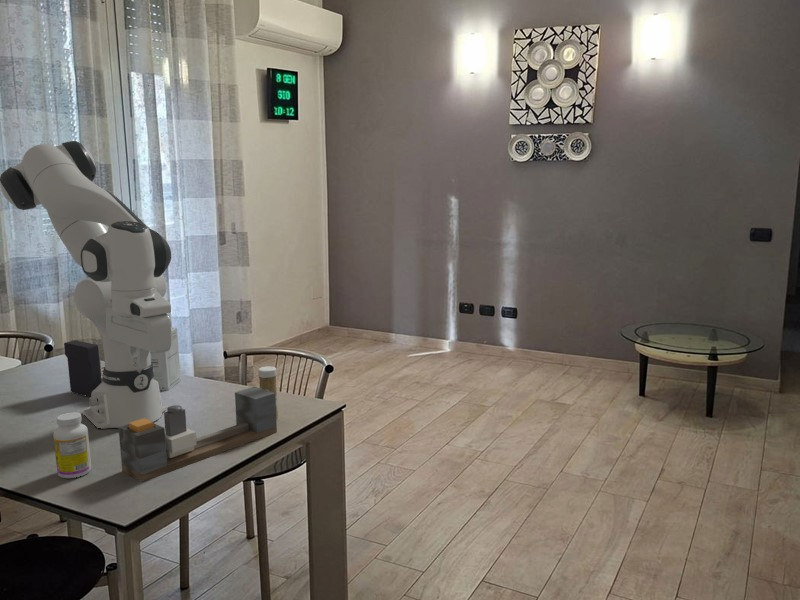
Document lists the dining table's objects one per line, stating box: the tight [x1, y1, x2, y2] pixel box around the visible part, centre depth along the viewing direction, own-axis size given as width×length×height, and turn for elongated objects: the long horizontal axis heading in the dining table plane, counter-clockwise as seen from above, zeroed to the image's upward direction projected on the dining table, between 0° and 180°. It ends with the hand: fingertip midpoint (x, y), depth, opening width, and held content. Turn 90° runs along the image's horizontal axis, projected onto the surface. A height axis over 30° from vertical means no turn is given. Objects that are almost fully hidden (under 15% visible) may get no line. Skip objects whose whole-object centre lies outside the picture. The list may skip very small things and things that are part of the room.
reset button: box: [129, 418, 155, 433], centre depth 150 cm, size 4×4×5 cm
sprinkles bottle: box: [257, 365, 279, 420], centre depth 182 cm, size 5×5×13 cm
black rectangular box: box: [63, 339, 103, 398], centre depth 202 cm, size 11×4×15 cm, turn 58°
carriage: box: [163, 405, 197, 458], centre depth 156 cm, size 6×6×10 cm
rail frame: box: [118, 386, 278, 482], centre depth 162 cm, size 8×36×10 cm, turn 139°
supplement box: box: [150, 327, 182, 391], centre depth 210 cm, size 10×9×17 cm
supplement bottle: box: [52, 411, 92, 479], centre depth 150 cm, size 7×7×13 cm
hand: (139, 366), depth 148 cm, fingers closed
